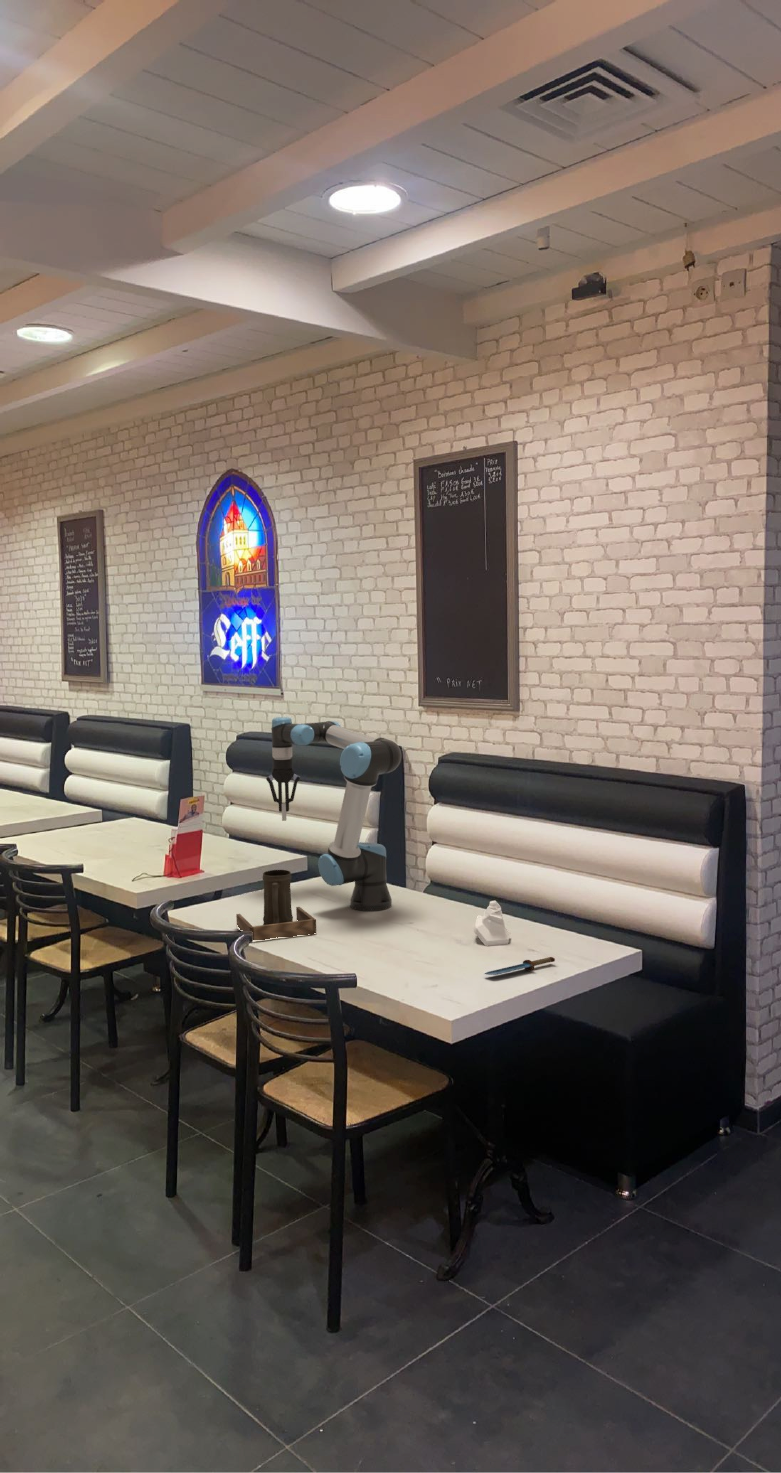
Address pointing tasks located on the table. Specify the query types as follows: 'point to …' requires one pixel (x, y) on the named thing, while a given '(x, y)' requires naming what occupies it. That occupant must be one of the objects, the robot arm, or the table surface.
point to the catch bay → (280, 927)
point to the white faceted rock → (492, 926)
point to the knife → (522, 966)
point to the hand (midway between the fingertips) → (284, 820)
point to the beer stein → (277, 897)
